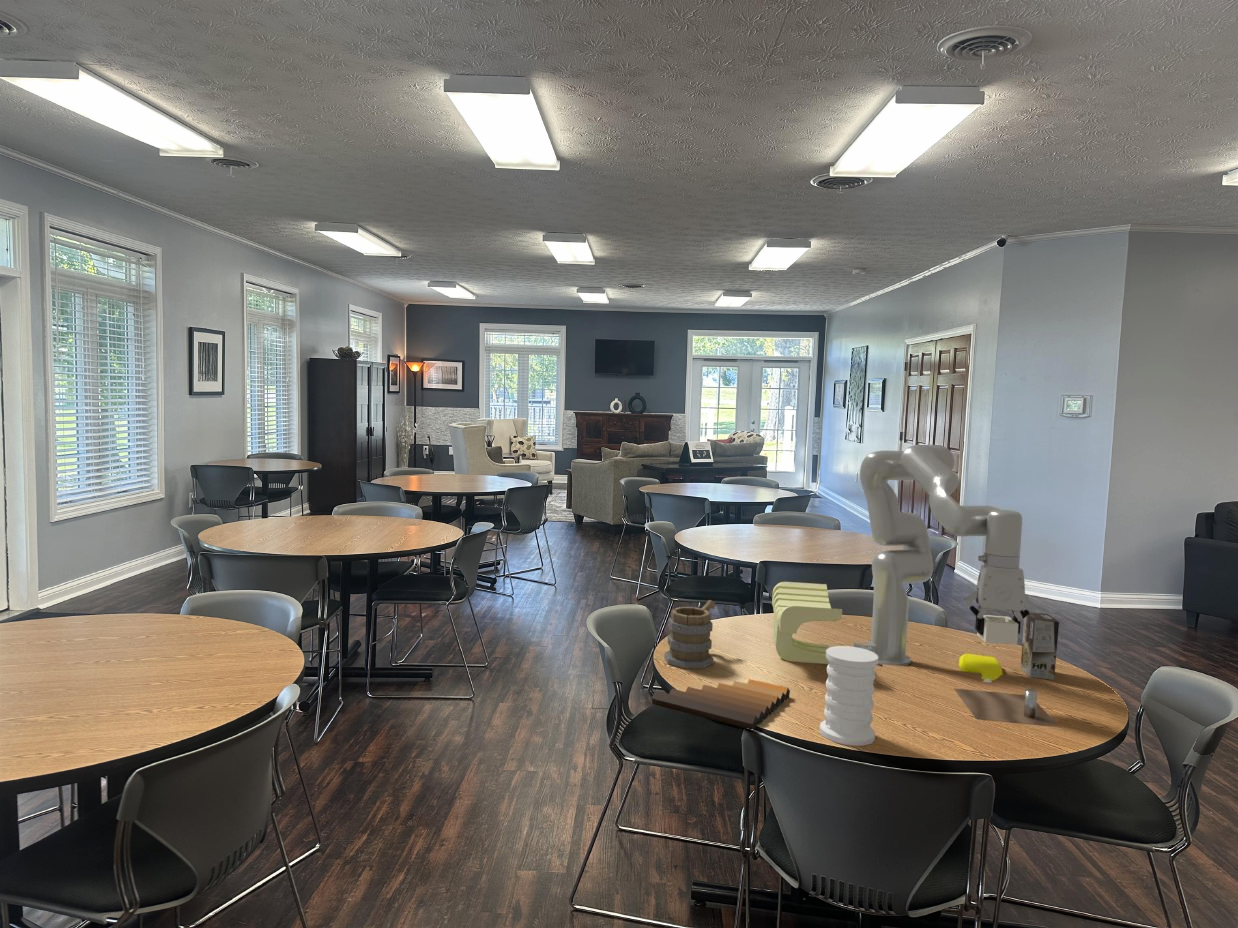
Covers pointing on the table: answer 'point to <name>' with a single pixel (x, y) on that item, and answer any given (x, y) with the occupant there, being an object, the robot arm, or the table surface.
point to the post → (1030, 703)
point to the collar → (999, 630)
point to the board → (1002, 707)
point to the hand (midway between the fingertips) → (997, 634)
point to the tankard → (690, 637)
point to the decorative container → (849, 696)
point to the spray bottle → (981, 666)
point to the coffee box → (1039, 645)
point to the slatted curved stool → (800, 619)
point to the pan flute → (727, 702)
